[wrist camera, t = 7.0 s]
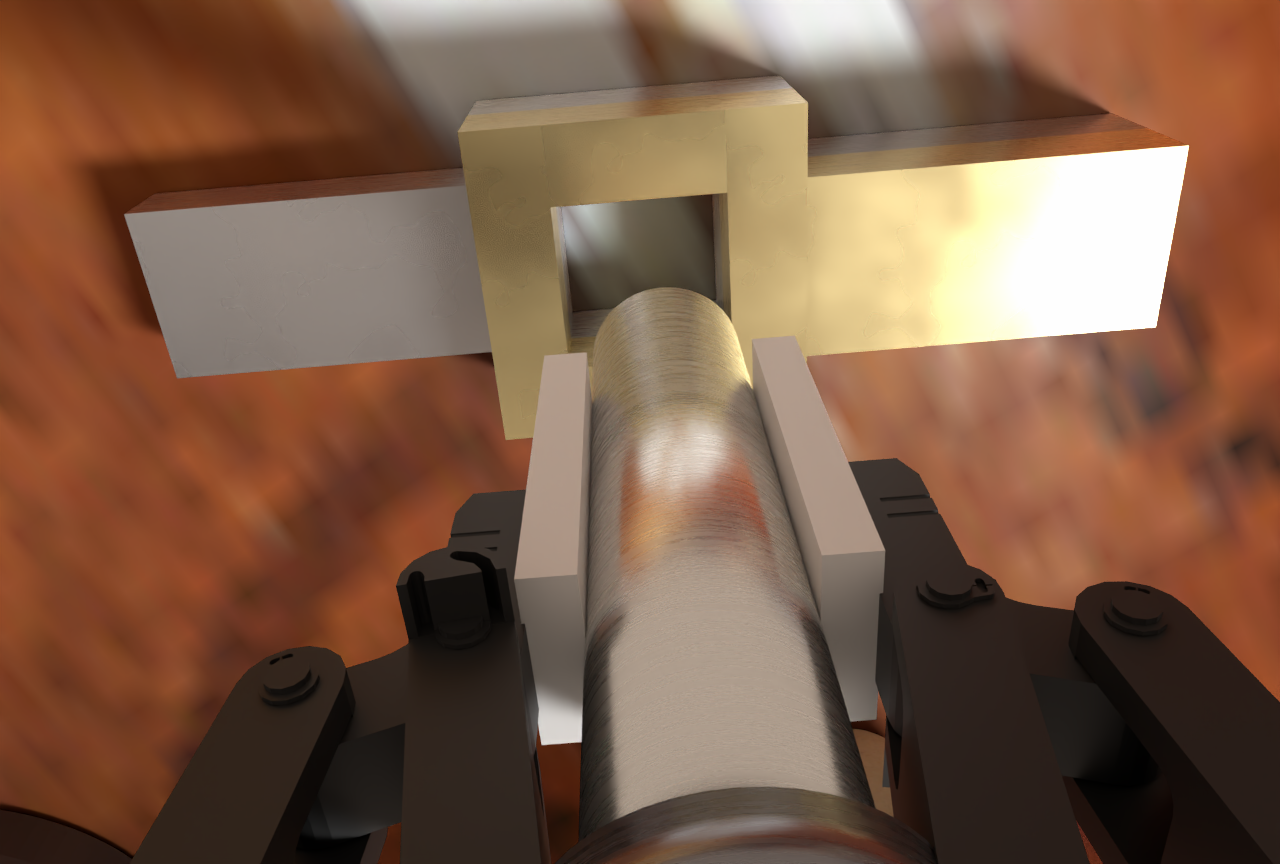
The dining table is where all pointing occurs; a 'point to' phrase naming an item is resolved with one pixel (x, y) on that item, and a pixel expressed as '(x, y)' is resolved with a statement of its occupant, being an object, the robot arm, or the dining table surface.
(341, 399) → the dining table surface
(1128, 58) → the dining table surface
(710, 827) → the pin
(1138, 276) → the bar with brass collar
